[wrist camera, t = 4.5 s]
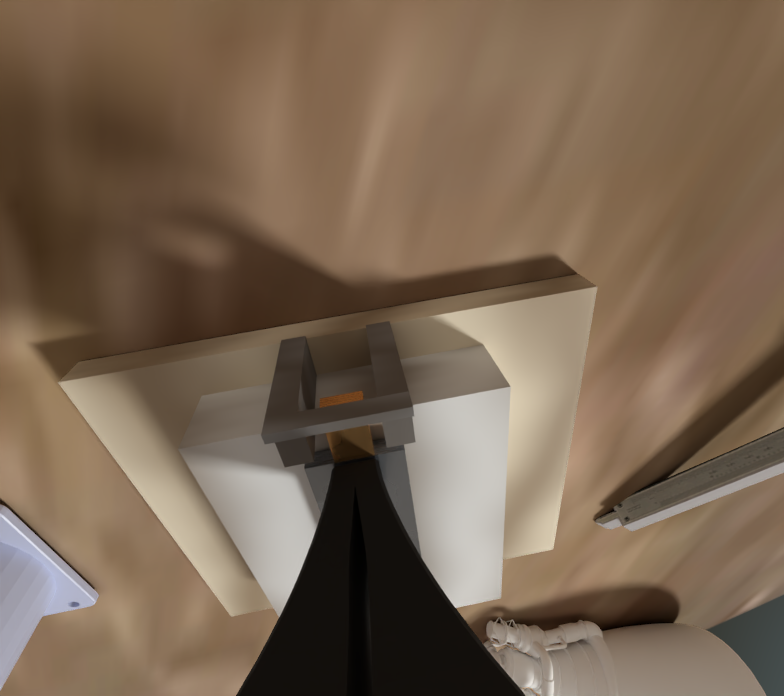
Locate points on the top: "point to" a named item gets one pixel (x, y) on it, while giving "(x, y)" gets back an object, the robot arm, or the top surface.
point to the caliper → (701, 483)
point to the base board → (378, 409)
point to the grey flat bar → (359, 448)
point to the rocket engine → (620, 660)
